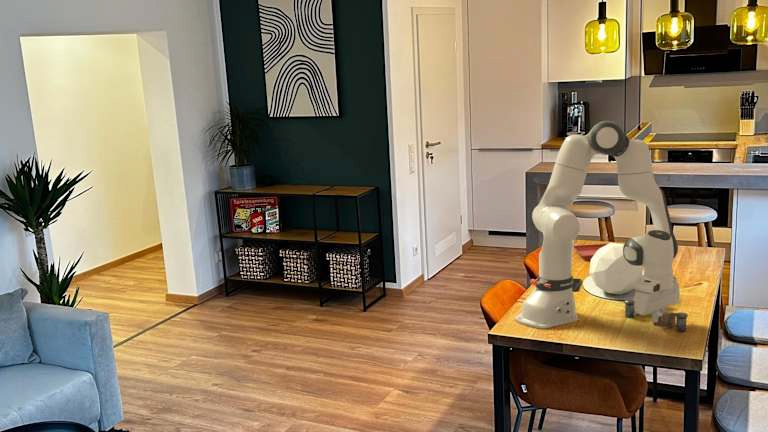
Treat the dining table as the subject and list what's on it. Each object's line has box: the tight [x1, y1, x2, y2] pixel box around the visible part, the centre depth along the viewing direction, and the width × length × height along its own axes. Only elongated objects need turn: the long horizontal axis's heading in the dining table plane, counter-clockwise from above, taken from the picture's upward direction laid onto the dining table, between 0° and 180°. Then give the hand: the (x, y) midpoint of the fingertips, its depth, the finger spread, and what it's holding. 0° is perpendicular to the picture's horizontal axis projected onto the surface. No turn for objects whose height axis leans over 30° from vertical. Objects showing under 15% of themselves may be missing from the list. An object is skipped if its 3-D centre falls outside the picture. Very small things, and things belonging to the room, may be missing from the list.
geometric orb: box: [588, 242, 644, 296], centre depth 266 cm, size 19×20×20 cm
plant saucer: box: [573, 243, 609, 261], centre depth 320 cm, size 18×18×3 cm
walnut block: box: [652, 310, 677, 329], centre depth 233 cm, size 5×5×4 cm
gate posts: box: [623, 298, 688, 333], centre depth 234 cm, size 4×23×6 cm, turn 37°
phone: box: [572, 277, 582, 293], centre depth 279 cm, size 8×1×15 cm
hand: (657, 321), depth 230 cm, fingers closed
